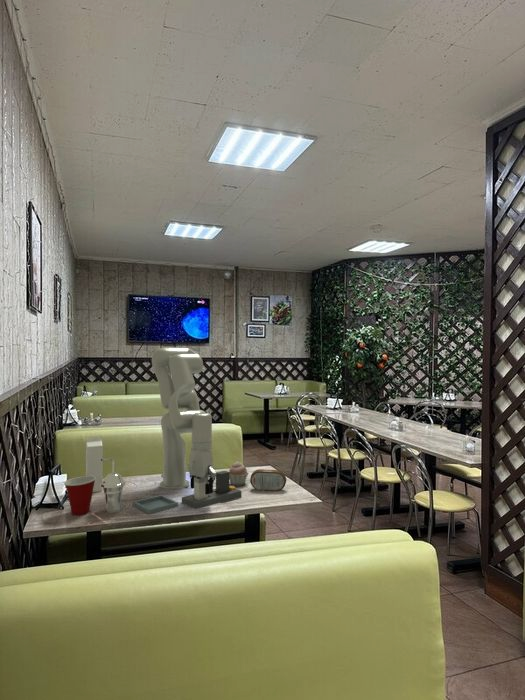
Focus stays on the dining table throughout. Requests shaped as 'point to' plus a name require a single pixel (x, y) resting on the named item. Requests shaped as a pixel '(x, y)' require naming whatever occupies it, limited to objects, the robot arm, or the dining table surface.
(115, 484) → the cup with straw
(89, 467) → the milk
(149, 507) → the tray
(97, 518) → the dining table surface
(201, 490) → the plug
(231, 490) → the power strip
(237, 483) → the cupcake
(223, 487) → the black plug
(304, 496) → the dining table surface
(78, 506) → the plastic cup
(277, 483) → the brown oval speaker
